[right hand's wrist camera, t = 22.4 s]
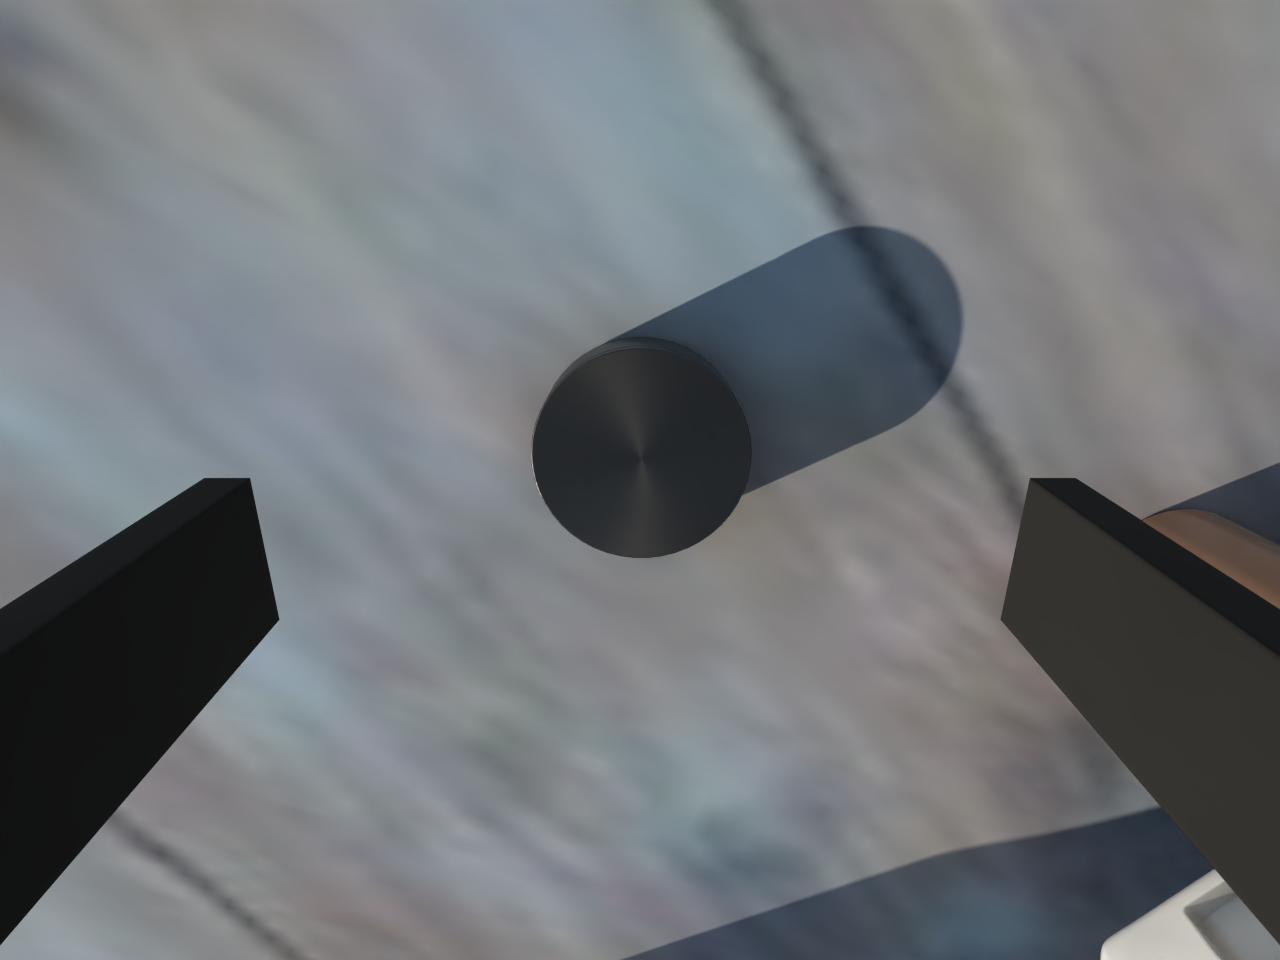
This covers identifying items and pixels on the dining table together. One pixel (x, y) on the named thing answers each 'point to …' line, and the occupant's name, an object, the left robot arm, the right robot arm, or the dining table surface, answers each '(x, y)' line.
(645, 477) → the lid
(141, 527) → the right robot arm
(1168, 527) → the tan rounded cylinder
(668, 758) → the dining table surface
